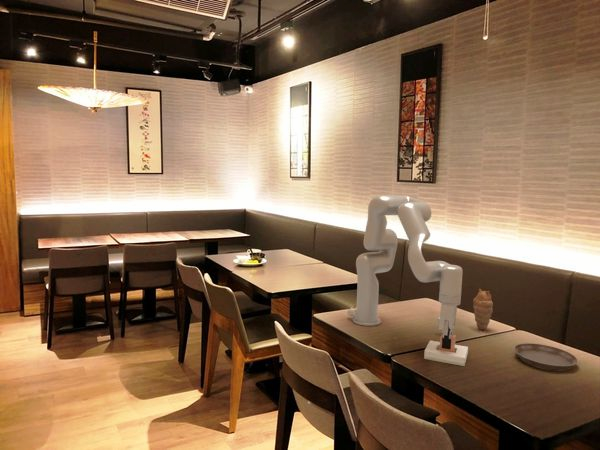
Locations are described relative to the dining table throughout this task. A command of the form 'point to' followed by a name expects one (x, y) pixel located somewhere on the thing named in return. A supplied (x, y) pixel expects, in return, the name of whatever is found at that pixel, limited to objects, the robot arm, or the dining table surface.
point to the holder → (446, 354)
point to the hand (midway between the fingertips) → (446, 347)
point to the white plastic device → (438, 321)
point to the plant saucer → (545, 357)
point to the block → (453, 338)
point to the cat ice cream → (482, 309)
